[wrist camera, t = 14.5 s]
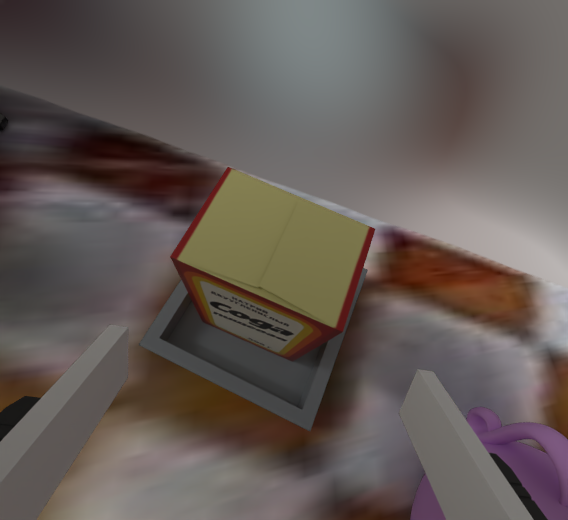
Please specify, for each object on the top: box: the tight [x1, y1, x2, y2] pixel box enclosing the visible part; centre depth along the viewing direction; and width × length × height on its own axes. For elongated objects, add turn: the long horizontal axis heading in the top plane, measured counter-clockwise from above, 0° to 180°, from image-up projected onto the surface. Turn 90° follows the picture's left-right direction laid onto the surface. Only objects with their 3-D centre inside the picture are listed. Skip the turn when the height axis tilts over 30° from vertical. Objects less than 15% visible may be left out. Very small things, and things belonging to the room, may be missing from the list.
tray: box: [139, 268, 368, 431], centre depth 30 cm, size 16×16×4 cm
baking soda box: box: [170, 167, 375, 362], centre depth 24 cm, size 10×6×16 cm
